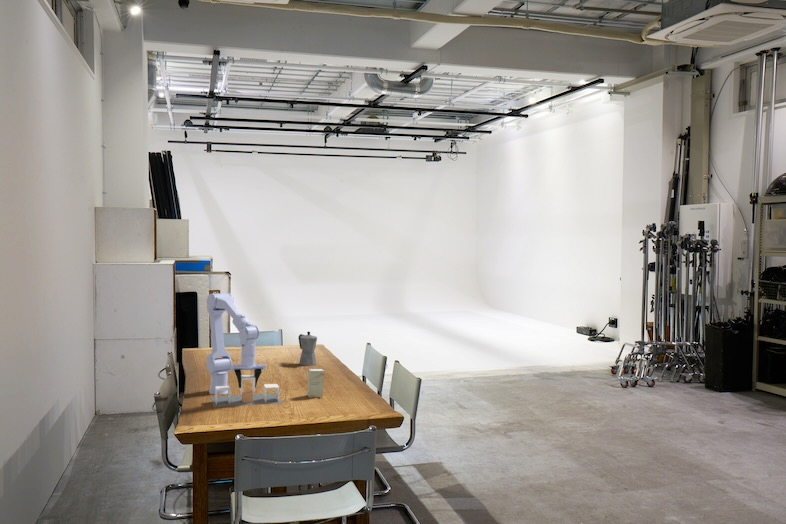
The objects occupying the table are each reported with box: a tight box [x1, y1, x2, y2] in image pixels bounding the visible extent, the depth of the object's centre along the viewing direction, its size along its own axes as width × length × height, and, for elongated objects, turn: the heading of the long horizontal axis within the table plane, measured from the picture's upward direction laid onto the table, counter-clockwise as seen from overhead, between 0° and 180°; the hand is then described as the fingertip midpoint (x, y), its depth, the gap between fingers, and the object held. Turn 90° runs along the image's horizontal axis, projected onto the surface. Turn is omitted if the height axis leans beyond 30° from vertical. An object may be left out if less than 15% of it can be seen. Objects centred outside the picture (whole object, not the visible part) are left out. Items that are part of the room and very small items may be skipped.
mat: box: [210, 393, 283, 408], centre depth 280 cm, size 17×28×1 cm, turn 109°
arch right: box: [263, 383, 280, 402], centre depth 280 cm, size 6×6×6 cm
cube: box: [241, 390, 254, 403], centre depth 277 cm, size 4×4×4 cm
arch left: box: [214, 385, 231, 405], centre depth 274 cm, size 6×6×6 cm
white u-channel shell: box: [239, 374, 256, 394], centre depth 277 cm, size 6×6×6 cm
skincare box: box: [307, 368, 325, 398], centre depth 291 cm, size 6×4×12 cm
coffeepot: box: [298, 331, 318, 367], centre depth 362 cm, size 15×9×18 cm, turn 44°
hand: (247, 387), depth 277 cm, fingers closed on white u-channel shell, 6 cm apart
